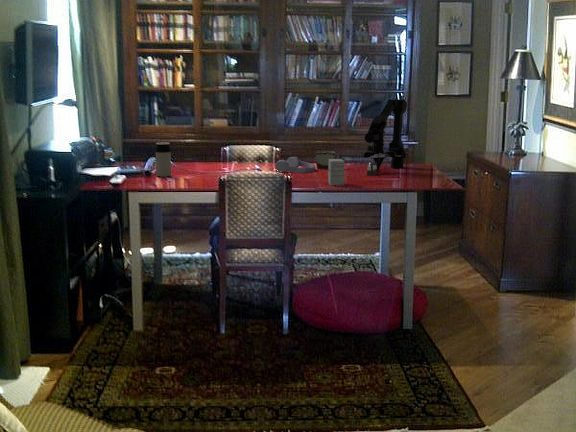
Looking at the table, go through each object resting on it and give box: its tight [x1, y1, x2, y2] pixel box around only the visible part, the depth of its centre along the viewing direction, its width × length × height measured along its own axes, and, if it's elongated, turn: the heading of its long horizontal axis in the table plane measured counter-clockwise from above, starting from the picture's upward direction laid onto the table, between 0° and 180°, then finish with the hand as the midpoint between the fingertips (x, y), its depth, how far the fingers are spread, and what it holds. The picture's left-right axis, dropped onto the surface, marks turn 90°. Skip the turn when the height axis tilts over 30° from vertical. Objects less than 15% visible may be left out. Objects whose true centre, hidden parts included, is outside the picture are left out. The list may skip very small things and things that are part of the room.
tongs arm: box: [371, 165, 378, 176], centre depth 448 cm, size 24×2×2 cm, turn 174°
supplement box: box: [327, 158, 345, 187], centre depth 406 cm, size 7×7×13 cm
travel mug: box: [155, 141, 172, 178], centre depth 432 cm, size 8×8×18 cm
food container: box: [314, 150, 337, 170], centre depth 463 cm, size 12×6×10 cm, turn 84°
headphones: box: [275, 156, 316, 174], centre depth 455 cm, size 22×7×20 cm
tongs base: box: [366, 161, 376, 176], centre depth 451 cm, size 28×5×4 cm, turn 174°
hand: (377, 169), depth 448 cm, fingers closed
